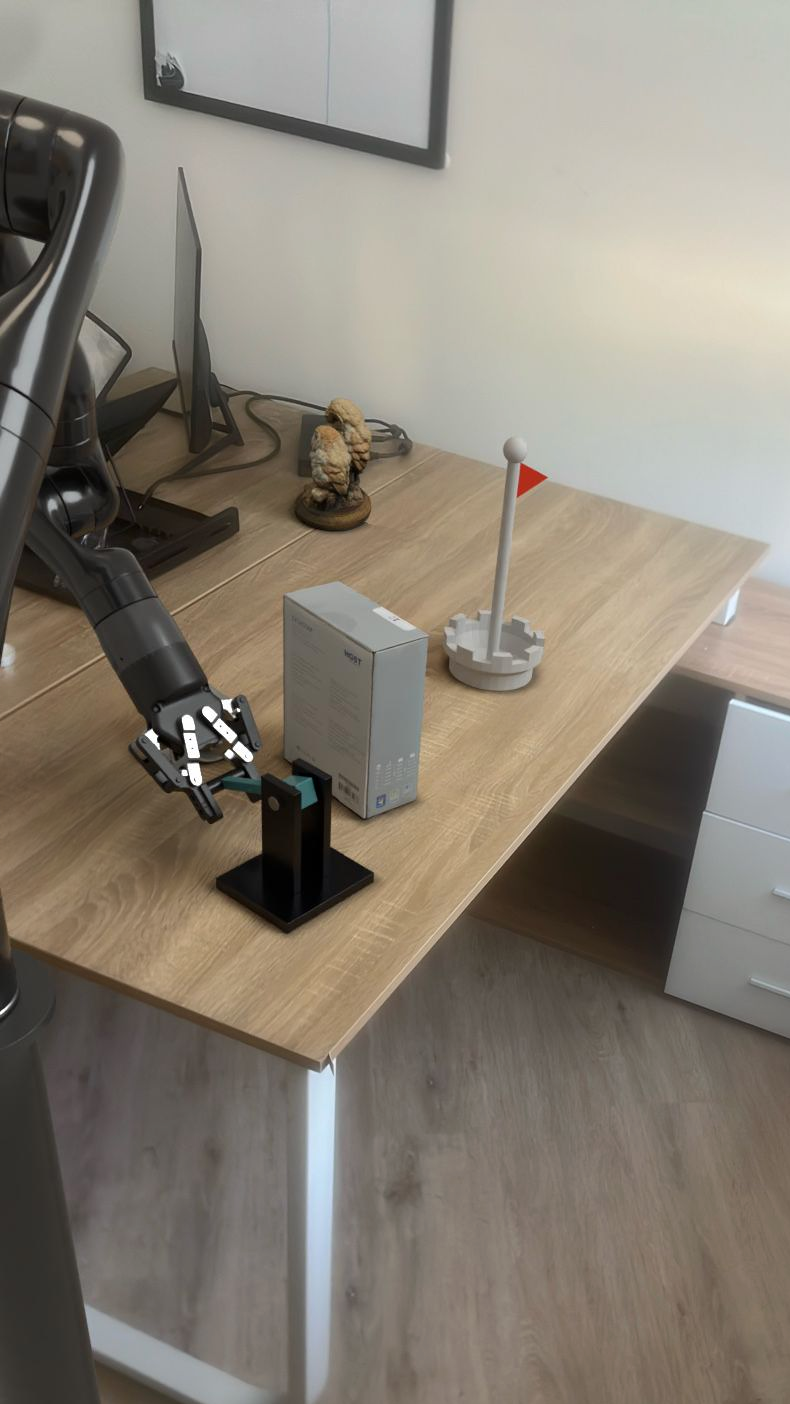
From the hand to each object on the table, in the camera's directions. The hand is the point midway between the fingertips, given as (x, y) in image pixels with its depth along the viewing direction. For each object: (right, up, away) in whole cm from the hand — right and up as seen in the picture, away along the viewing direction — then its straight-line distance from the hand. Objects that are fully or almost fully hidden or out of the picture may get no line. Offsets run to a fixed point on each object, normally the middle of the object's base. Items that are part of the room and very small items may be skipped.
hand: (238, 809), depth 127 cm
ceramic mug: (-9, +9, +16) cm, 21 cm away
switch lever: (+3, +1, -4) cm, 5 cm away
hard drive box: (+9, +5, +16) cm, 19 cm away
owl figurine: (-3, +56, +74) cm, 93 cm away
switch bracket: (+6, -8, 0) cm, 9 cm away
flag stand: (+24, +23, +40) cm, 52 cm away
